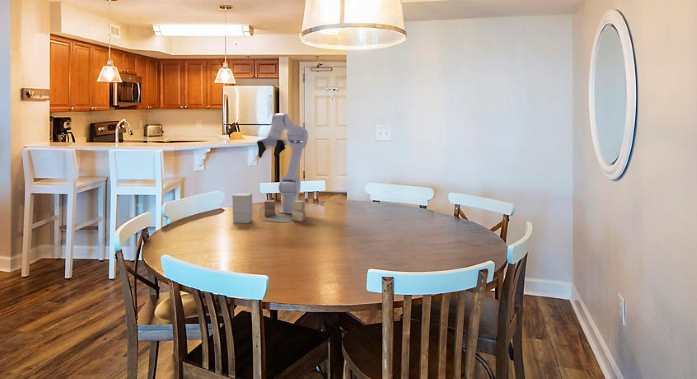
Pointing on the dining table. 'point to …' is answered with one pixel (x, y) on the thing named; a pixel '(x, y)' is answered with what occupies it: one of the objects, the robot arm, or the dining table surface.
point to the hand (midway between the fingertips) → (267, 156)
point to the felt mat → (279, 218)
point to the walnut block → (269, 207)
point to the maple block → (298, 210)
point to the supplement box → (242, 208)
